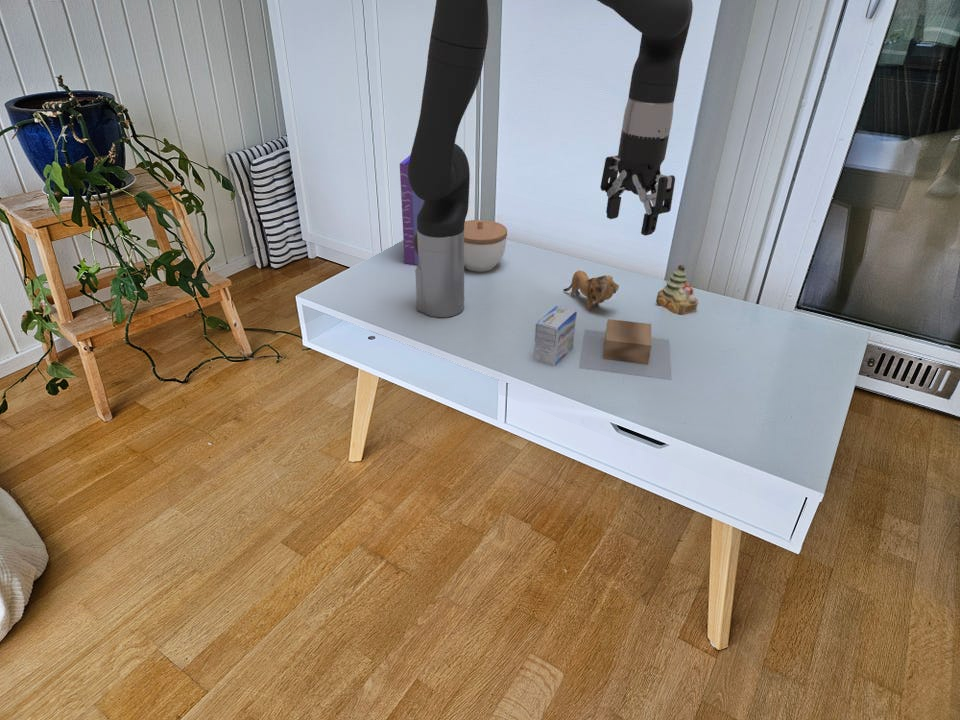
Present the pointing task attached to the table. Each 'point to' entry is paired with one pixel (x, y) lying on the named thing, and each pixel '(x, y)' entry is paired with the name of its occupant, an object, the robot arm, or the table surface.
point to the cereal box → (409, 215)
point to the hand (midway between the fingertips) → (629, 225)
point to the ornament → (678, 294)
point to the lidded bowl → (483, 244)
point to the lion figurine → (593, 288)
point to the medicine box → (554, 335)
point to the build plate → (594, 361)
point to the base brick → (627, 341)
